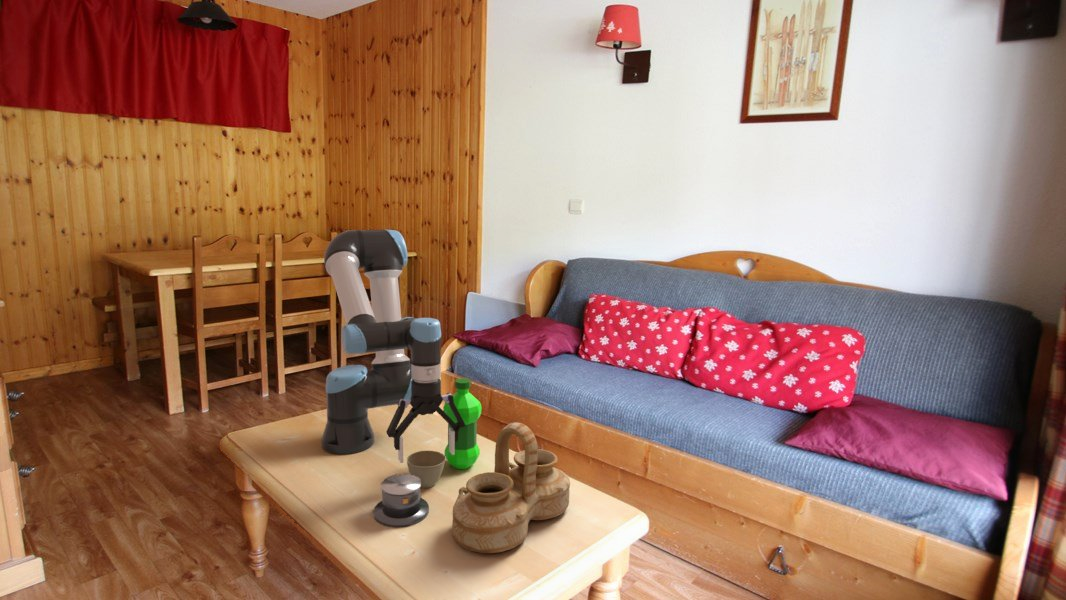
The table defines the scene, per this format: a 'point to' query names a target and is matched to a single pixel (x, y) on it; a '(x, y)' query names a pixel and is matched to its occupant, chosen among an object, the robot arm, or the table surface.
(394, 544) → the table surface
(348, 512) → the table surface
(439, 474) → the flower pot
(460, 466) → the plastic bottle
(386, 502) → the grey top hat
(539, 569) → the table surface
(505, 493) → the ceramic vessel
